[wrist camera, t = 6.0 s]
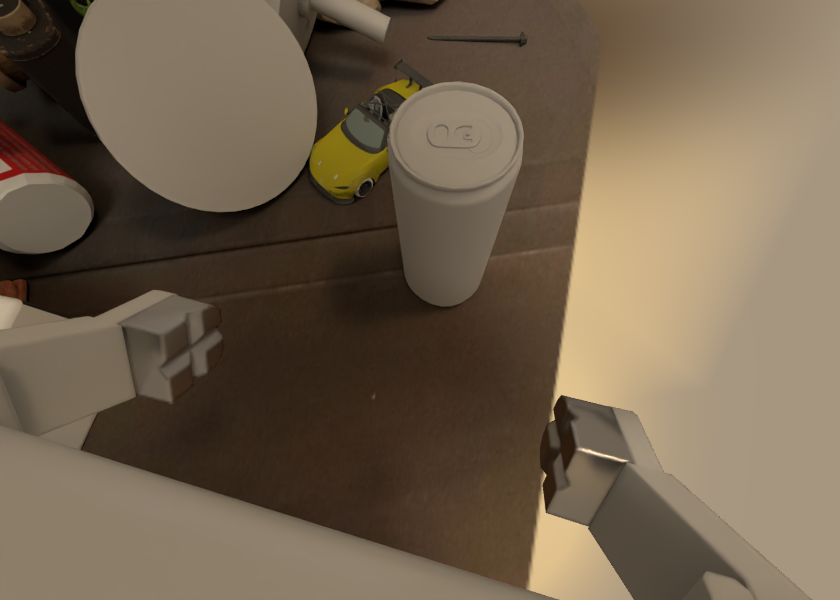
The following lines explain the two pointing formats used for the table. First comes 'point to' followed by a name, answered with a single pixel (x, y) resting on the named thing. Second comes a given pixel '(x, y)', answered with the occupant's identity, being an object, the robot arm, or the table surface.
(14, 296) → the small clay pieces
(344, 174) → the toy car
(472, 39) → the screw
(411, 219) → the beverage can
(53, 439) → the medicine bottle
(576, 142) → the table surface
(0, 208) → the soda can
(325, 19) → the figurine
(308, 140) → the monster figurine
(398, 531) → the table surface
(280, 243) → the table surface
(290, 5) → the motor
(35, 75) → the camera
